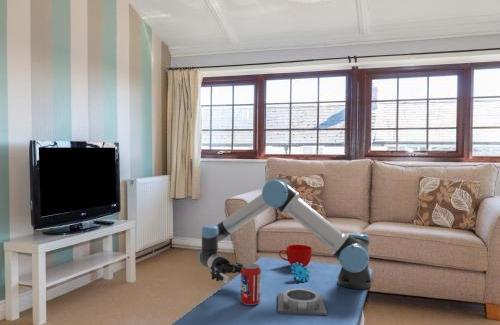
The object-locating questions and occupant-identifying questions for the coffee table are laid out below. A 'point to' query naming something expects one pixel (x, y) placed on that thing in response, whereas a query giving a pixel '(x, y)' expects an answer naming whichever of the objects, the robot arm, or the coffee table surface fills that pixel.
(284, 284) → the coffee table surface
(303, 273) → the blue spiky toy
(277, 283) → the coffee table surface
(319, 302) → the housing
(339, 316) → the coffee table surface
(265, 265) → the coffee table surface
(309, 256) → the ceramic cup
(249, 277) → the soda can
